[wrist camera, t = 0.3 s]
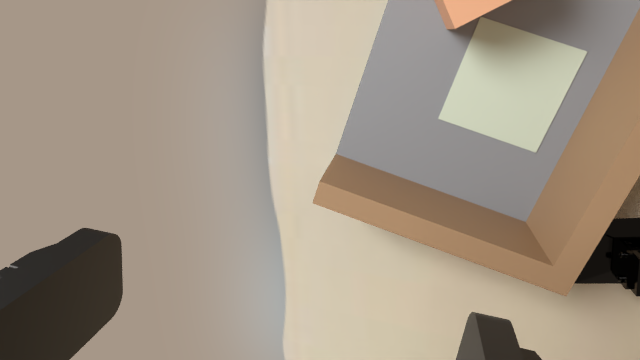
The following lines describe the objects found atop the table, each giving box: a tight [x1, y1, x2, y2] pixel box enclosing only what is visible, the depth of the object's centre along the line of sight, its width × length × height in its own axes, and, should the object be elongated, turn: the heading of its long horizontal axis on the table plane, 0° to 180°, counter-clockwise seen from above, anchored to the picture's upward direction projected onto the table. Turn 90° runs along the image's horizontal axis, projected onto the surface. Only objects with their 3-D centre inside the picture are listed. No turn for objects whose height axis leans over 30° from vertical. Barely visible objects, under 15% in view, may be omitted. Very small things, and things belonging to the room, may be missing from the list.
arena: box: [313, 0, 640, 296], centre depth 29 cm, size 22×17×8 cm
